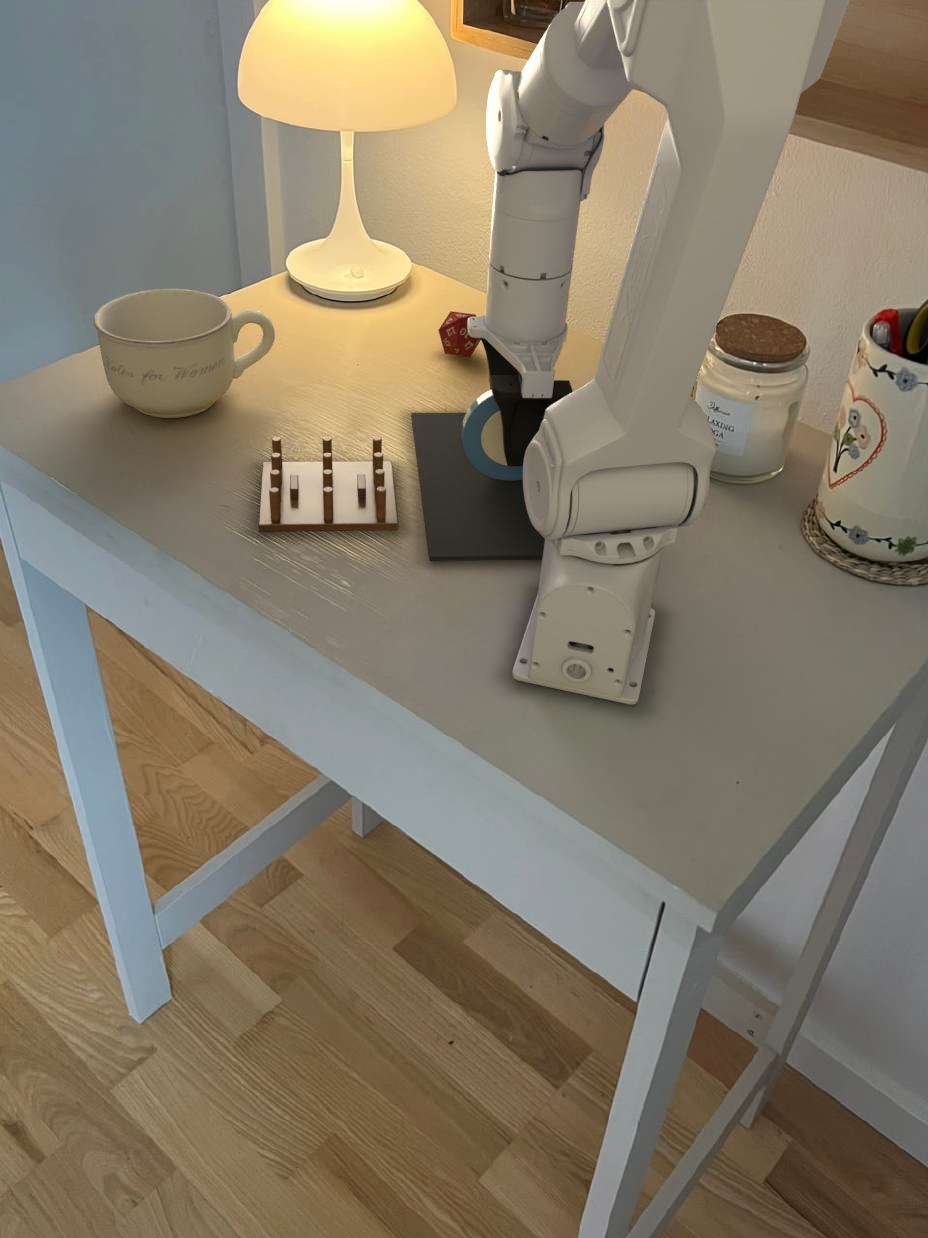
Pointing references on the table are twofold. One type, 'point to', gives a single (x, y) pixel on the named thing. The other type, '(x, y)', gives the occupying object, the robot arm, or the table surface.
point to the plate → (487, 440)
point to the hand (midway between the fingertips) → (513, 436)
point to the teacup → (174, 349)
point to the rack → (327, 493)
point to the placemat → (468, 499)
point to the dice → (457, 335)
